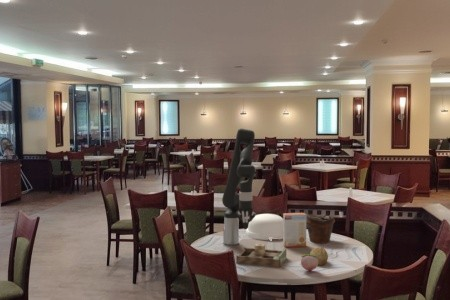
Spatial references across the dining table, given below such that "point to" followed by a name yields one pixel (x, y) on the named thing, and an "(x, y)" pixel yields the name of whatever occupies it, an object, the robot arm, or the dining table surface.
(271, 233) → the dome cover
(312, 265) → the decorative fruit
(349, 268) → the dining table surface
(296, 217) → the cracker box
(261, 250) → the maple block
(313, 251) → the bread roll
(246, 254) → the wooden divided tray
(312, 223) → the brown plant pot
